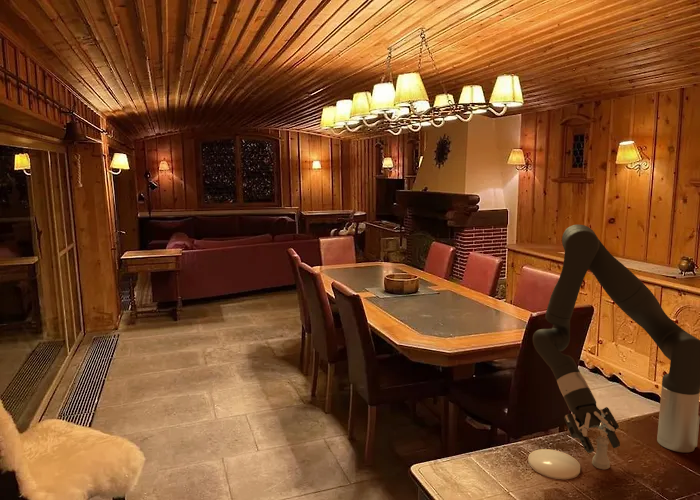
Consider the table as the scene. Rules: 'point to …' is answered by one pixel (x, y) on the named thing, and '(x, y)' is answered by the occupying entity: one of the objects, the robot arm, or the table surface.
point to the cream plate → (554, 464)
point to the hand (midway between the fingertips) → (604, 449)
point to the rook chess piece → (601, 454)
